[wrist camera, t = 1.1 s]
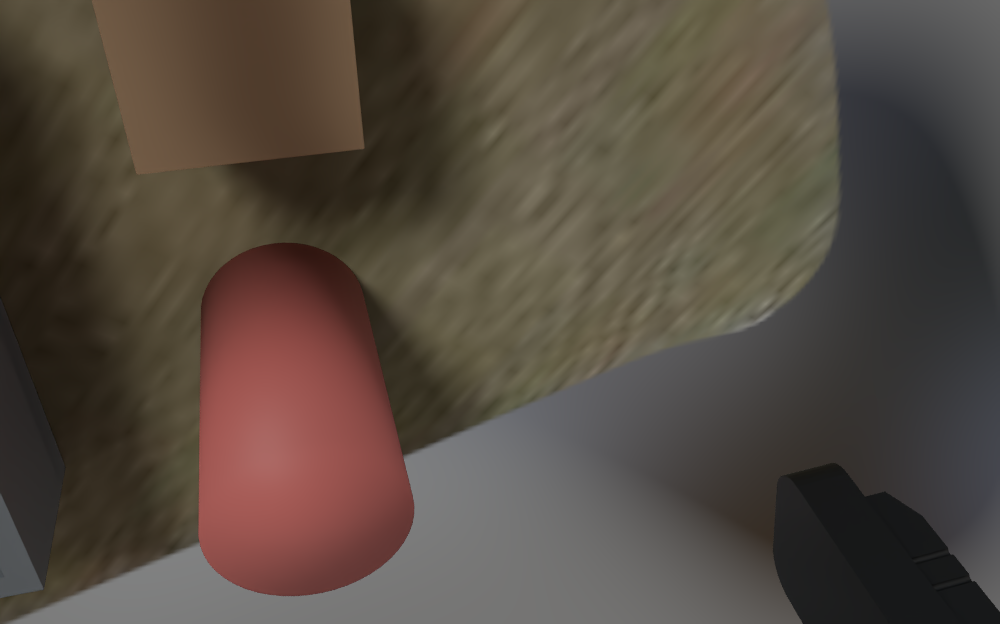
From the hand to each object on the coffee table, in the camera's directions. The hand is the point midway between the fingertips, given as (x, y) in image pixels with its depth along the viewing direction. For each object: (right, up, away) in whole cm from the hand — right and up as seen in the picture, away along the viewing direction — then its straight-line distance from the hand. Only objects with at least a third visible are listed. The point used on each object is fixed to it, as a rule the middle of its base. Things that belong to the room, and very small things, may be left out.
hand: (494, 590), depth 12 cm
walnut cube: (-7, +12, +11) cm, 18 cm away
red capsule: (-7, +4, +17) cm, 18 cm away
